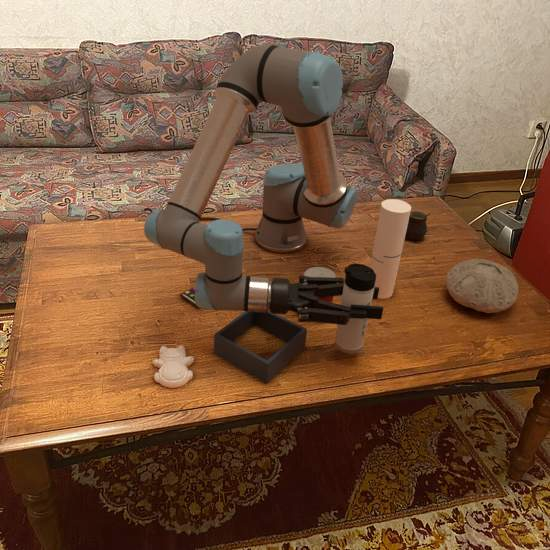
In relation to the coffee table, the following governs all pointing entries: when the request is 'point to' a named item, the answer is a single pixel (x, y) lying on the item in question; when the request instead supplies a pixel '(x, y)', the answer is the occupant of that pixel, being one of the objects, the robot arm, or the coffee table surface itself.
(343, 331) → the travel mug
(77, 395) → the coffee table surface
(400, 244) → the cylindrical container
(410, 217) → the mate gourd
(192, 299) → the smartphone
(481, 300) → the decorative shell
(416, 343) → the coffee table surface
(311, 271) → the canned food
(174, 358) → the white animal figurine
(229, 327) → the frame
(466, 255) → the coffee table surface
